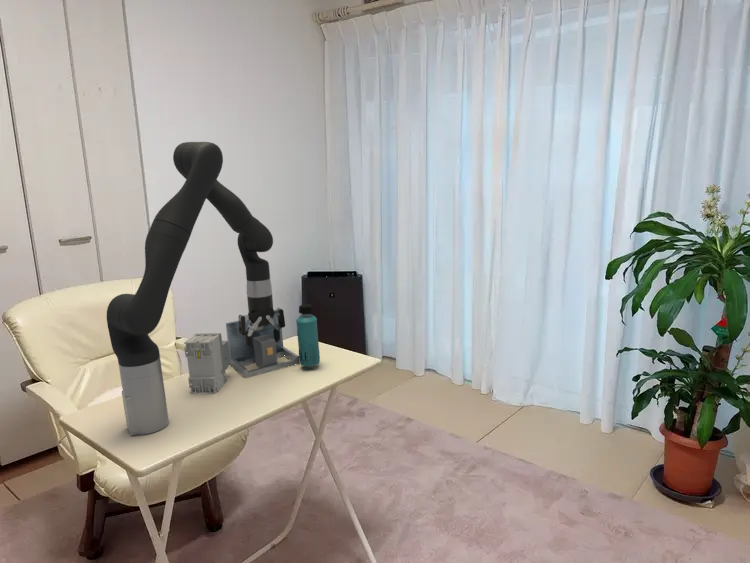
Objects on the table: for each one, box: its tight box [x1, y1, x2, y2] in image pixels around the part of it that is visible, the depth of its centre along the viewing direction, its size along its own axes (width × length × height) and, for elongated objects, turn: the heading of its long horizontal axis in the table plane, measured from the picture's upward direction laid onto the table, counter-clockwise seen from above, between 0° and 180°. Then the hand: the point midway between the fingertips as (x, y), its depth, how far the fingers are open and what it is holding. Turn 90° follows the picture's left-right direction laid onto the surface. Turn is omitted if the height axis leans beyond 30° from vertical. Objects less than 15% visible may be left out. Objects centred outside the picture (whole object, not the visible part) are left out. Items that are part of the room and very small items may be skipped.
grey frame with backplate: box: [225, 314, 301, 379], centre depth 170 cm, size 18×13×14 cm
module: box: [253, 335, 278, 368], centre depth 169 cm, size 4×8×9 cm, turn 33°
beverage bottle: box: [296, 303, 321, 367], centre depth 165 cm, size 6×7×20 cm
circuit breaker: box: [183, 332, 230, 395], centre depth 157 cm, size 8×14×15 cm, turn 174°
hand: (263, 344), depth 169 cm, fingers open, 8 cm apart
